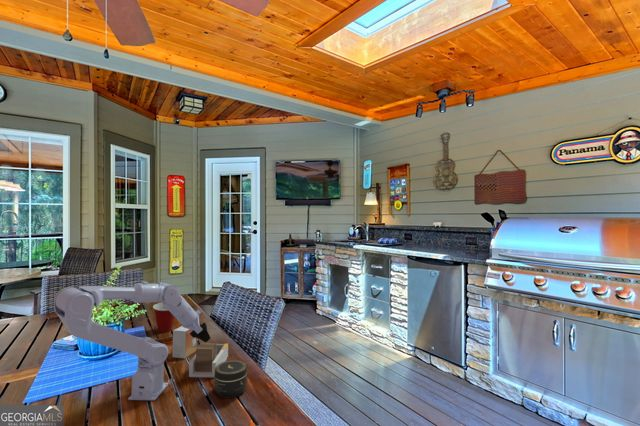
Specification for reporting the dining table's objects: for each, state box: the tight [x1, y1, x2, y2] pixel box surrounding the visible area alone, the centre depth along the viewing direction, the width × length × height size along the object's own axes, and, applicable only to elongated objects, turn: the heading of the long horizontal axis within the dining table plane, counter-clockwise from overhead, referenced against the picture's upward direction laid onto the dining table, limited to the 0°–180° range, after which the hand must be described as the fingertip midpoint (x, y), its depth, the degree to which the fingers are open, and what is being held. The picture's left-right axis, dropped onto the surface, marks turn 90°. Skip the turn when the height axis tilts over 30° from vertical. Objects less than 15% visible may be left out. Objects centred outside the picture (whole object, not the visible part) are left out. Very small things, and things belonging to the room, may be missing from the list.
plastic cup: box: [152, 302, 175, 333], centre depth 155 cm, size 11×11×12 cm
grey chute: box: [188, 343, 229, 378], centre depth 120 cm, size 16×9×5 cm, turn 1°
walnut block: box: [195, 342, 218, 372], centre depth 116 cm, size 5×6×8 cm
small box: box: [171, 325, 198, 359], centre depth 130 cm, size 8×6×10 cm
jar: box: [213, 359, 248, 399], centre depth 104 cm, size 10×10×8 cm
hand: (203, 334), depth 118 cm, fingers open, 7 cm apart
